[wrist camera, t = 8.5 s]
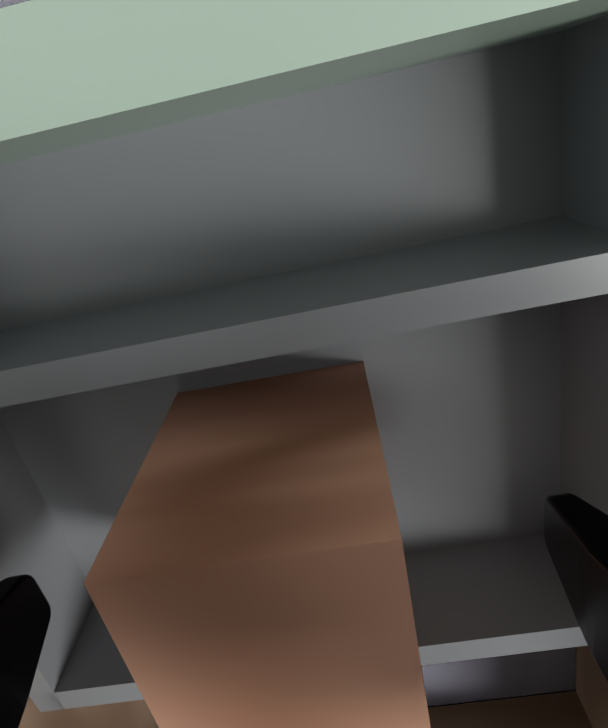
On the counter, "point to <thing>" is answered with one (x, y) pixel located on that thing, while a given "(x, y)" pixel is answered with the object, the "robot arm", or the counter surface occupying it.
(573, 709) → the sleeve
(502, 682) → the counter surface
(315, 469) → the block
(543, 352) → the tray
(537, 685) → the counter surface
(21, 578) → the robot arm
